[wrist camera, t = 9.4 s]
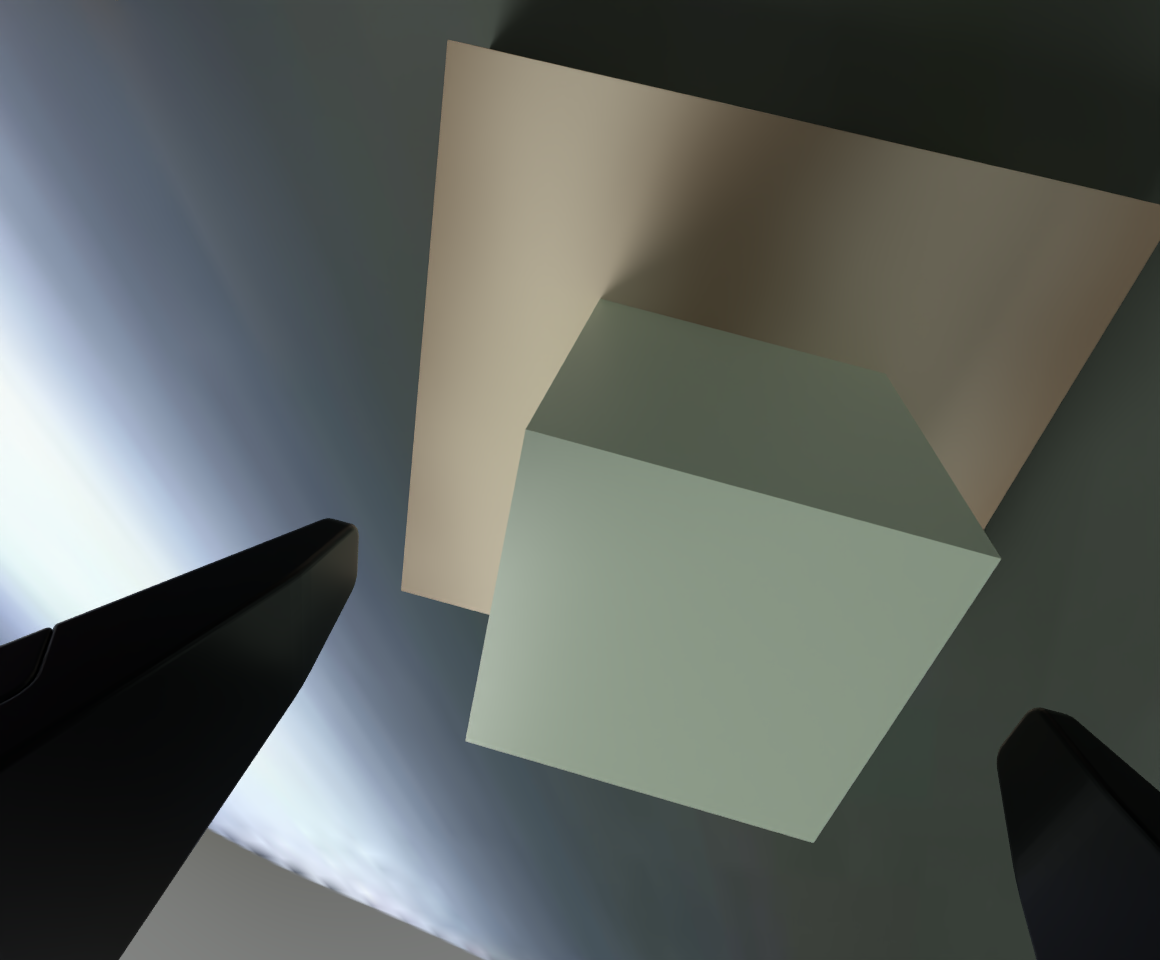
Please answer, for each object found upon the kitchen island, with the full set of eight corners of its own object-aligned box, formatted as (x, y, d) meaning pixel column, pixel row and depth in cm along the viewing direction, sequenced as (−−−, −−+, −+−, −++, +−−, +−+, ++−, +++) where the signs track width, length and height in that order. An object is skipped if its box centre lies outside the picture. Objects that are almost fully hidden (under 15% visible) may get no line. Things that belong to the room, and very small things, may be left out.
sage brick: (885, 373, 13) (1001, 559, 8) (780, 595, 16) (813, 842, 10) (600, 298, 13) (525, 429, 8) (546, 530, 16) (465, 741, 11)
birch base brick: (1089, 188, 13) (1178, 209, 11) (848, 636, 19) (868, 718, 17) (497, 50, 14) (447, 39, 11) (441, 527, 20) (401, 590, 17)
